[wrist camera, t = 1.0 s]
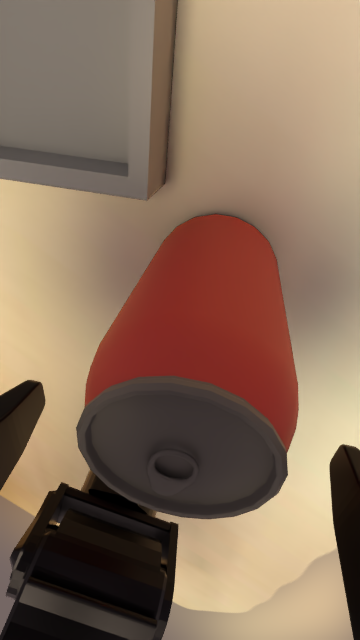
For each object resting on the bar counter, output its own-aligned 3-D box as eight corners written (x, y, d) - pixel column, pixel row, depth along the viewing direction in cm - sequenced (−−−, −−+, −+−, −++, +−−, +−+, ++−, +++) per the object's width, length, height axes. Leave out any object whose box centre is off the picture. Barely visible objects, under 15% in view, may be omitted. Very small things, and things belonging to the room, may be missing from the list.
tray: (165, 183, 16) (146, 200, 13) (-50, 152, 17) (-109, 162, 14) (193, -229, 10) (169, -366, 7) (-154, -239, 11) (-301, -363, 8)
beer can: (147, 300, 20) (50, 487, 10) (174, 193, 16) (62, 327, 7) (249, 333, 20) (249, 551, 10) (298, 234, 17) (371, 428, 7)
